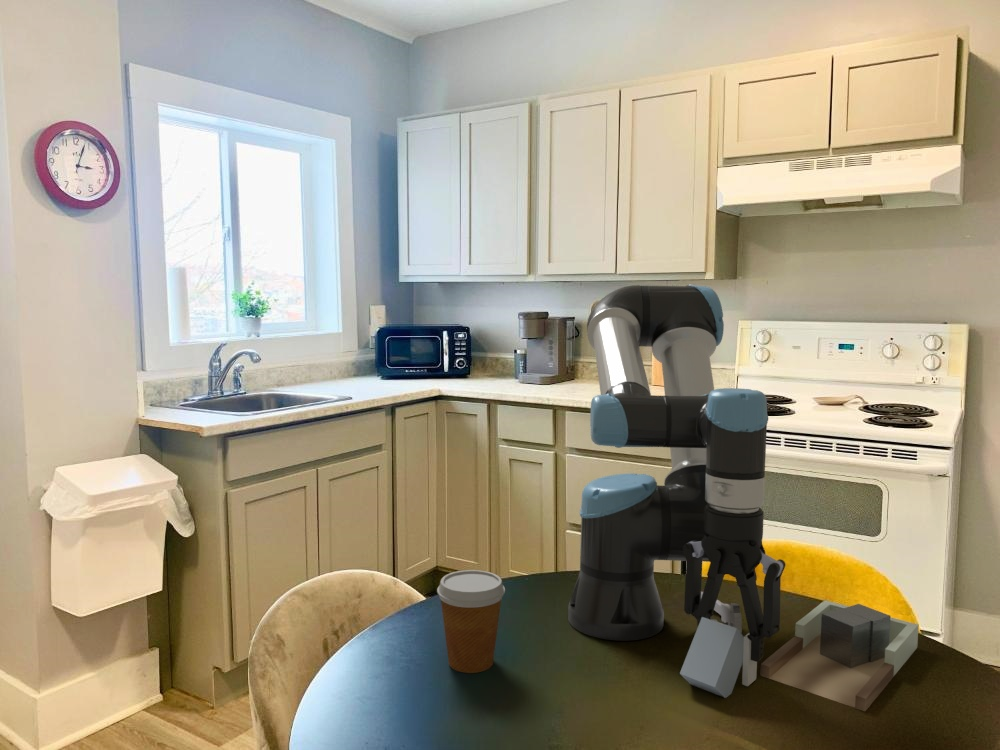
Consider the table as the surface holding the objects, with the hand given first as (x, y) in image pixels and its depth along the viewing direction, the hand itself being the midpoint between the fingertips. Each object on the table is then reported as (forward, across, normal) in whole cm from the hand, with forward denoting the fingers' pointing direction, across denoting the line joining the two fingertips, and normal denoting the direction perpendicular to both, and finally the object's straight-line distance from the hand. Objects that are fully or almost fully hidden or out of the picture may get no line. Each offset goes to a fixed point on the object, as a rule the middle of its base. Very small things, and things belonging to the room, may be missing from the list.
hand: (728, 674), depth 103 cm
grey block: (-1, 0, -7) cm, 7 cm away
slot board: (+1, +10, +15) cm, 18 cm away
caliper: (+1, -10, +18) cm, 21 cm away
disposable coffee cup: (+1, -29, -20) cm, 35 cm away
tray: (+1, +10, +21) cm, 23 cm away
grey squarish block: (0, +10, +16) cm, 19 cm away
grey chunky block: (0, +11, +20) cm, 23 cm away
